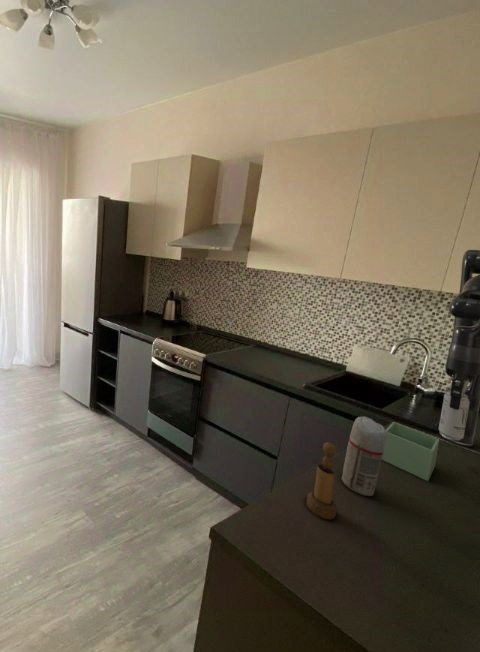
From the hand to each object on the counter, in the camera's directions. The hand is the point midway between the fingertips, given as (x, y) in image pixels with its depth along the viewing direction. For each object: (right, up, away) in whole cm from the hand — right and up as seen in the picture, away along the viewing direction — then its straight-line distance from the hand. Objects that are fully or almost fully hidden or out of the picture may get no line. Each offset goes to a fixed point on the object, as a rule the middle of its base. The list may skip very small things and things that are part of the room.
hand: (455, 405), depth 112 cm
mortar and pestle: (-61, -17, -25) cm, 68 cm away
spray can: (-43, -18, -14) cm, 49 cm away
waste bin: (-16, -19, 0) cm, 25 cm away
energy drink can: (-1, -11, +1) cm, 11 cm away
